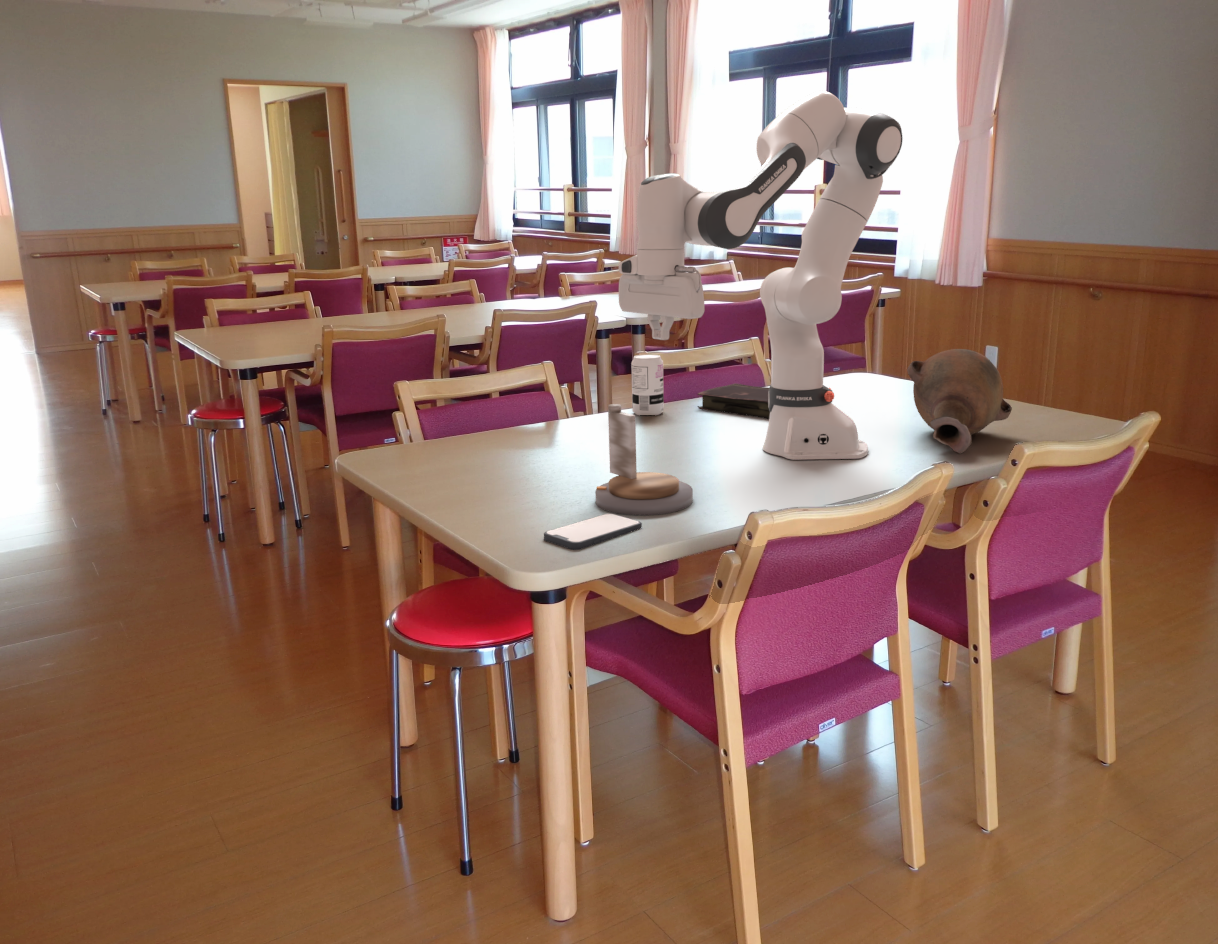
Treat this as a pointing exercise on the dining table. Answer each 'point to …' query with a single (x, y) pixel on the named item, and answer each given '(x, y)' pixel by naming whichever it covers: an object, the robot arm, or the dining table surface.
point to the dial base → (644, 502)
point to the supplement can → (647, 385)
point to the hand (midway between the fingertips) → (660, 339)
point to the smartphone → (591, 531)
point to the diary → (737, 400)
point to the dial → (632, 462)
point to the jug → (958, 395)
